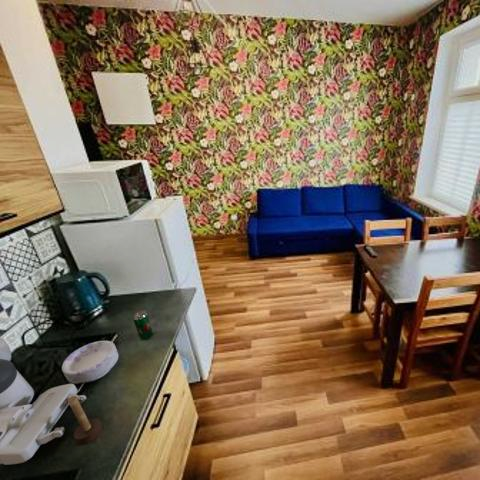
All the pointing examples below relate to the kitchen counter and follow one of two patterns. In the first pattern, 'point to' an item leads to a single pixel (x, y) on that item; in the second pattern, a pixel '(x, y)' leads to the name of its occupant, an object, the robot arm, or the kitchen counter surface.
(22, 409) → the robot arm
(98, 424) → the toilet plunger
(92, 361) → the paper bowls
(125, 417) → the kitchen counter surface
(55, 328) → the kitchen counter surface
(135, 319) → the soda can
